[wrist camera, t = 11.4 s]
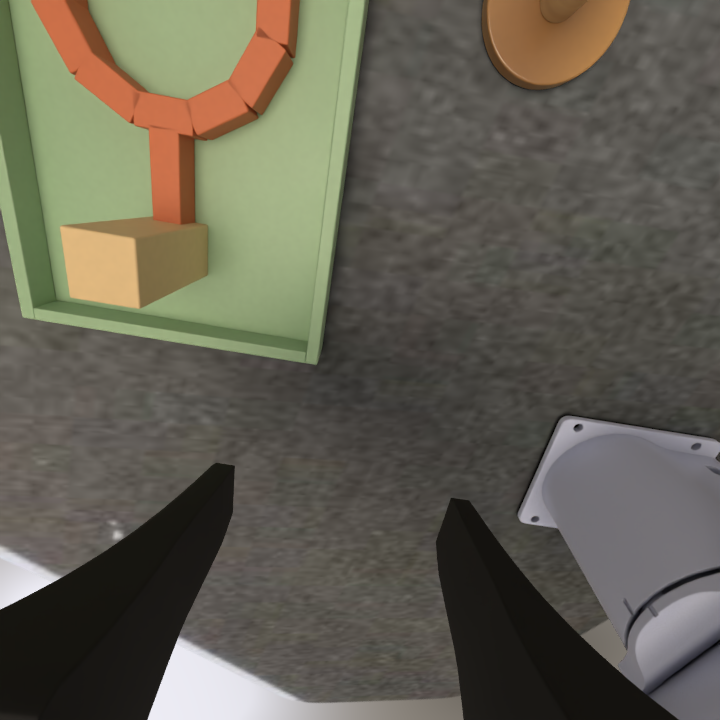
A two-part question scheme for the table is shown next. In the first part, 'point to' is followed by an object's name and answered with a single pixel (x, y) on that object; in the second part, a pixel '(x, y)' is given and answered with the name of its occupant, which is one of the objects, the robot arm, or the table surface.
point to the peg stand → (548, 37)
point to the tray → (212, 169)
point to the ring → (161, 153)
